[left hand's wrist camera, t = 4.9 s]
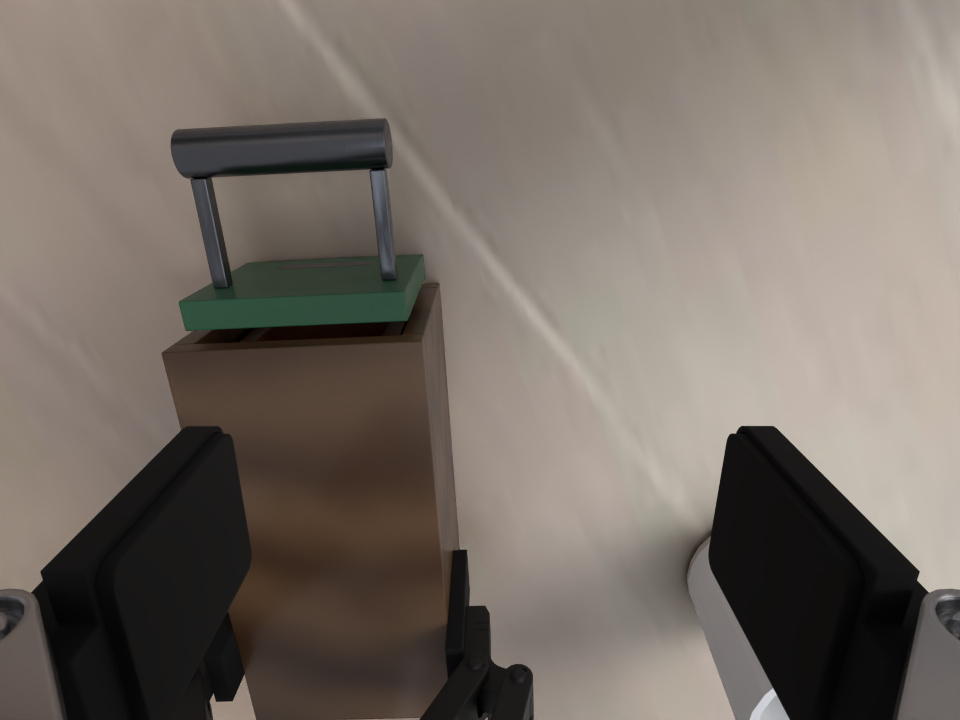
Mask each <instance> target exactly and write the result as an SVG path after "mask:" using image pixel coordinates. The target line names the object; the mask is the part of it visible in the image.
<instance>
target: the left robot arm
mask: <svg viewBox="0 0 960 720" xmlns="http://www.w3.org/2000/svg"><path fill="white" fill-rule="evenodd" d="M251 559H252V551H251V544H250V538H249V532H248V526H247V520H246V514H245V508H244V502H243V497H242V491H241V485H240V479H239V473H238V467H237V461H236V455H235V449H234V443H233V439H232V437H231V435H230V434H224V433H223V431H222V429H221V428H220V427H219V426H186V427H185V428H183V429H182V430H181V431H180V432H179V433H178V434H177V435H176V436H175V437H174V438H173V439H172V440H171V441H170V442H169V443H168V444H167V445H166V446H165V447H164V448H163V449H162V450H161V451H160V452H159V453H158V454H157V455H156V456H155V457H154V458H153V459H152V460H151V461H150V462H149V463H148V464H147V465H146V466H145V467H144V468H143V469H142V470H141V471H140V472H139V473H138V474H137V475H136V476H135V477H134V478H133V479H132V480H131V481H130V482H129V483H128V484H127V485H126V486H125V487H124V488H123V489H122V490H121V491H120V492H119V493H118V494H117V495H116V496H115V497H114V498H113V499H112V500H111V501H110V502H109V503H108V504H107V505H106V506H105V507H104V508H103V509H102V510H101V511H100V512H99V513H98V514H97V515H96V516H95V517H94V518H93V519H92V520H91V521H90V522H89V523H88V524H87V525H86V526H85V527H84V528H83V529H82V530H81V531H80V532H79V533H78V534H77V535H76V536H75V537H74V538H73V539H72V540H71V541H70V542H69V543H68V544H67V545H66V546H65V547H64V548H63V549H62V550H61V551H60V552H59V553H58V554H57V555H56V556H55V557H54V558H53V559H52V560H51V561H50V562H49V563H48V564H47V565H46V566H45V567H44V568H43V569H42V570H41V571H40V572H41V575H42V578H43V581H42V582H41V583H40V584H39V585H38V586H37V587H36V588H35V589H34V590H33V591H32V592H31V593H30V592H27V591H25V590H20V589H3V590H0V720H170V719H171V717H172V716H173V714H174V712H175V710H176V708H177V706H178V704H179V702H180V700H181V698H182V697H183V695H184V693H185V691H186V689H187V687H188V685H189V683H190V681H191V679H192V678H193V676H194V674H195V672H196V670H197V668H198V666H199V664H200V662H201V660H202V659H203V657H204V655H205V653H206V651H207V649H208V647H209V645H210V643H211V641H212V640H213V638H214V636H215V634H216V632H217V630H218V628H219V626H220V624H221V622H222V621H223V619H224V617H225V615H226V613H227V611H228V609H229V607H230V605H231V603H232V602H233V600H234V598H235V596H236V594H237V592H238V590H239V588H240V586H241V584H242V583H243V581H244V579H245V577H246V575H247V573H248V571H249V568H250V565H251ZM708 559H709V565H710V568H711V571H712V573H713V575H714V577H715V579H716V581H717V583H718V584H719V586H720V588H721V590H722V592H723V594H724V596H725V598H726V600H727V602H728V603H729V605H730V607H731V609H732V611H733V613H734V615H735V617H736V619H737V621H738V622H739V624H740V626H741V628H742V630H743V632H744V634H745V636H746V638H747V640H748V641H749V643H750V645H751V647H752V649H753V651H754V653H755V655H756V657H757V659H758V660H759V662H760V664H761V666H762V668H763V670H764V672H765V674H766V676H767V678H768V679H769V681H770V683H771V685H772V687H773V689H774V691H775V693H776V695H777V697H778V698H779V700H780V702H781V704H782V706H783V708H784V710H785V712H786V714H787V716H788V717H789V719H790V720H960V590H957V589H940V590H935V591H933V592H930V593H929V592H928V591H927V590H926V589H925V588H924V587H923V586H922V585H921V584H920V583H919V582H918V581H917V578H918V575H919V572H920V571H919V570H918V569H917V568H916V567H915V566H914V565H913V564H912V563H911V562H910V561H909V560H908V559H907V558H906V557H905V556H904V555H903V554H902V553H901V552H900V551H899V550H898V549H897V548H896V547H895V546H894V545H893V544H892V543H891V542H890V541H889V540H888V539H887V538H886V537H885V536H884V535H883V534H882V533H881V532H880V531H879V530H878V529H877V528H876V527H875V526H874V525H873V524H872V523H871V522H870V521H869V520H868V519H867V518H866V517H865V516H864V515H863V514H862V513H861V512H860V511H859V510H858V509H857V508H856V507H855V506H854V505H853V504H852V503H851V502H850V501H849V500H848V499H847V498H846V497H845V496H844V495H843V494H842V493H841V492H840V491H839V490H838V489H837V488H836V487H835V486H834V485H833V484H832V483H831V482H830V481H829V480H828V479H827V478H826V477H825V476H824V475H823V474H822V473H821V472H820V471H819V470H818V469H817V468H816V467H815V466H814V465H813V464H812V463H811V462H810V461H809V460H808V459H807V458H806V457H805V456H804V455H803V454H802V453H801V452H800V451H799V450H798V449H797V448H796V447H795V446H794V445H793V444H792V443H791V442H790V441H789V440H788V439H787V438H786V437H785V436H784V435H783V434H782V433H781V432H780V431H779V430H778V429H777V428H775V427H774V426H741V427H740V428H739V429H738V431H737V433H736V434H730V435H729V437H728V439H727V443H726V449H725V455H724V461H723V467H722V473H721V479H720V485H719V491H718V497H717V502H716V508H715V514H714V520H713V526H712V532H711V538H710V544H709V551H708Z"/></svg>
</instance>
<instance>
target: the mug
mask: <svg viewBox="0 0 960 720" xmlns="http://www.w3.org/2000/svg"><path fill="white" fill-rule="evenodd" d="M710 538H711V536H710V537H709V538H708V539H707V540H706V541H705V542H703V543H702V544H701V545H700V546H699V548H698V549H697V551H696V553H695V554H694V556H693V558H692V559H691V562H690V565H689V569H688V573H687V586H688V591H689V594H690V597H691V599H692V602H693V605H694V608H695V610H696V613H697V616H698V618H699V621H700V624H701V627H702V629H703V632H704V635H705V637H706V640H707V643H708V646H709V648H710V651H711V654H712V656H713V659H714V662H715V665H716V667H717V670H718V673H719V675H720V678H721V681H722V684H723V686H724V689H725V692H726V694H727V697H728V700H729V703H730V705H731V708H732V711H733V713H734V716H735V719H736V720H790V719H789V717H788V716H787V714H786V712H785V710H784V708H783V706H782V704H781V702H780V700H779V698H778V697H777V695H776V693H775V691H774V689H773V687H772V685H771V683H770V681H769V679H768V678H767V676H766V674H765V672H764V670H763V668H762V666H761V664H760V662H759V660H758V659H757V657H756V655H755V653H754V651H753V649H752V647H751V645H750V643H749V641H748V640H747V638H746V636H745V634H744V632H743V630H742V628H741V626H740V624H739V622H738V621H737V619H736V617H735V615H734V613H733V611H732V609H731V607H730V605H729V603H728V602H727V600H726V598H725V596H724V594H723V592H722V590H721V588H720V586H719V584H718V583H717V581H716V579H715V577H714V575H713V573H712V571H711V568H710V565H709V559H708V551H709V544H710Z"/></svg>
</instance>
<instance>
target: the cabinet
mask: <svg viewBox="0 0 960 720" xmlns="http://www.w3.org/2000/svg"><path fill="white" fill-rule="evenodd" d="M254 329H255V328H240V329H218V330H195V331H193V332H191V333H190V334H188V335H187V336H185V337H184V338H183V339H181V340H180V341H178V342H177V343H175V344H174V345H172V346H171V347H169V348H168V349H166V350H165V351H164V352H162V357H163V361H164V365H165V369H166V372H167V376H168V380H169V384H170V388H171V392H172V396H173V400H174V403H175V407H176V411H177V415H178V419H179V423H180V427H181V430H182V429H183V428H185V427H186V426H219V427H220V428H221V429H222V431H223V433H224V434H230V435H231V437H232V439H233V443H234V449H235V455H236V461H237V467H238V473H239V479H240V485H241V491H242V497H243V502H244V508H245V514H246V520H247V526H248V532H249V538H250V544H251V551H252V559H251V565H250V568H249V571H248V573H247V575H246V577H245V579H244V581H243V583H242V584H241V586H240V588H239V590H238V592H237V594H236V596H235V598H234V600H233V602H232V603H231V605H230V607H229V609H228V612H229V616H230V620H231V623H232V627H233V631H234V635H235V639H236V643H237V647H238V650H239V654H240V658H241V662H242V666H243V670H244V674H245V678H246V681H247V685H248V689H249V693H250V697H251V701H252V705H253V708H254V712H255V716H256V720H352V719H389V718H421V717H422V716H423V714H424V713H425V711H426V710H427V709H428V707H429V706H430V704H431V703H432V702H433V700H434V699H435V697H436V696H437V695H438V693H439V692H440V690H441V689H442V688H443V686H444V685H445V683H446V682H447V680H448V676H447V665H446V654H445V644H446V631H447V623H448V608H449V597H450V584H451V571H452V558H453V550H460V549H459V536H458V523H457V509H456V496H455V483H454V469H453V456H452V443H451V430H450V416H449V403H448V390H447V376H446V363H445V350H444V336H443V323H442V310H441V297H440V284H439V283H434V284H422V286H421V289H420V291H419V294H418V296H417V299H416V301H415V304H414V306H413V309H412V311H411V314H410V317H409V319H408V322H407V324H406V327H405V329H404V332H403V334H402V335H395V336H372V337H349V338H326V339H303V340H281V341H258V342H240V341H241V340H242V339H243V338H245V337H246V336H247V335H248V334H249V333H250V332H251V331H253V330H254Z"/></svg>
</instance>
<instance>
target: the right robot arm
mask: <svg viewBox="0 0 960 720" xmlns="http://www.w3.org/2000/svg"><path fill="white" fill-rule="evenodd" d="M469 596H470V587H469V573H468V558H467V550H453V558H452V571H451V584H450V597H449V608H448V623H447V631H446V644H445V654H446V665H447V676H448V680H447V682H446V683H445V685H444V686H443V688H442V689H441V690H440V692H439V693H438V695H437V696H436V697H435V699H434V700H433V702H432V703H431V704H430V706H429V707H428V709H427V710H426V711H425V713H424V714H423V716H422V717H421V718H420V720H485V719H486V718H487V717H488V720H534V705H533V674H532V672H531V670H530V669H529V668H528V667H527V666H525V665H522V664H515V665H511V666H510V667H508V668H507V669H505V668H502V667H499V666H497V665H496V664H494V662H493V661H492V660H491V632H490V615H489V612H488V610H487V608H486V606H469ZM243 676H244V670H243V666H242V662H241V658H240V654H239V650H238V647H237V643H236V639H235V635H234V631H233V627H232V623H231V620H230V616H229V612H228V611H227V613H226V615H225V617H224V619H223V621H222V622H221V624H220V626H219V628H218V630H217V632H216V634H215V636H214V638H213V640H212V641H211V643H210V645H209V647H208V649H207V651H206V653H205V655H204V657H203V659H202V660H201V662H200V664H199V666H198V668H197V670H196V672H195V674H194V676H193V678H192V679H191V681H190V683H189V685H188V687H187V689H186V691H185V693H184V695H183V697H182V698H181V700H180V702H179V704H178V706H177V708H176V710H175V712H174V714H173V716H172V717H171V719H170V720H213V716H212V709H211V705H210V699H211V697H212V695H213V693H214V696H215V699H216V702H221V701H233V699H234V697H235V694H236V692H237V690H238V688H239V685H240V683H241V681H242V679H243Z"/></svg>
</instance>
